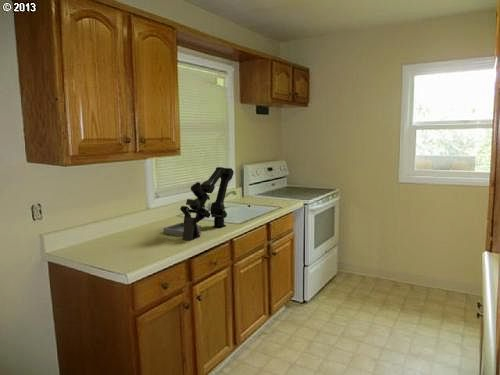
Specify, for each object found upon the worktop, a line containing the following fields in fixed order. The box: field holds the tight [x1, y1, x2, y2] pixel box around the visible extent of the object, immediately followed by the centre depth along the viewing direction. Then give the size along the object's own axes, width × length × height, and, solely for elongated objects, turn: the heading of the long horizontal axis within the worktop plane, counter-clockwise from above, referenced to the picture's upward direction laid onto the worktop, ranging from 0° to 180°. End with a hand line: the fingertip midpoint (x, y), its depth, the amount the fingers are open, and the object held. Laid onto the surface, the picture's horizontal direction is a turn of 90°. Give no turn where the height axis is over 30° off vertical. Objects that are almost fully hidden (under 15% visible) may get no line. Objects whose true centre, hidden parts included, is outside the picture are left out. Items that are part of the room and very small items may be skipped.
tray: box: [162, 222, 202, 237], centre depth 223 cm, size 16×16×3 cm
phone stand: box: [181, 216, 201, 242], centre depth 208 cm, size 9×6×12 cm, turn 152°
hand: (188, 224), depth 206 cm, fingers closed on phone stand, 6 cm apart
